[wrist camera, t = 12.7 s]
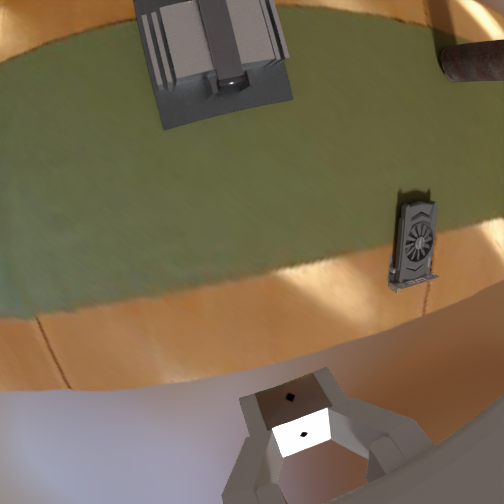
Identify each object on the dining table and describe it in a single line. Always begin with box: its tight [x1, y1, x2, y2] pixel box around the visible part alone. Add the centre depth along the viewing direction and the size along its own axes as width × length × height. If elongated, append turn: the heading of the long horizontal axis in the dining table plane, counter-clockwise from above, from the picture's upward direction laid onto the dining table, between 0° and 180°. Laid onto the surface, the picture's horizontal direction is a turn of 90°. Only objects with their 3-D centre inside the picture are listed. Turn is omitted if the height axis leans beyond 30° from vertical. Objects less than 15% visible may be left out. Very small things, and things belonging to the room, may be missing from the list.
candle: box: [441, 40, 504, 82], centre depth 35 cm, size 8×7×20 cm
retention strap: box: [198, 0, 247, 89], centre depth 30 cm, size 15×3×1 cm, turn 13°
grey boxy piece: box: [133, 0, 293, 130], centre depth 32 cm, size 18×20×10 cm
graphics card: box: [388, 201, 439, 294], centre depth 55 cm, size 17×4×12 cm
